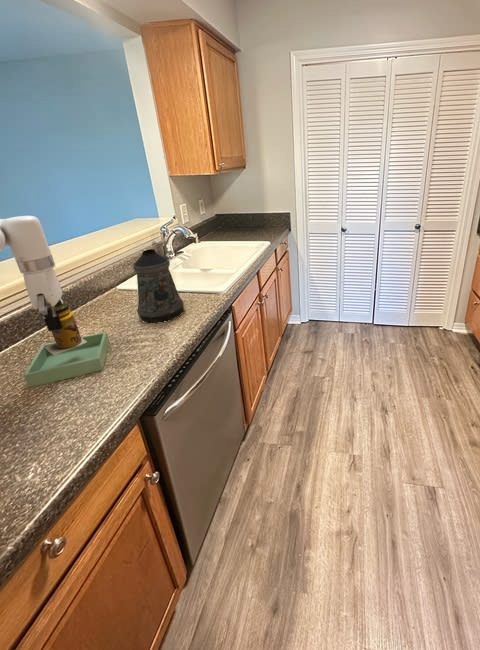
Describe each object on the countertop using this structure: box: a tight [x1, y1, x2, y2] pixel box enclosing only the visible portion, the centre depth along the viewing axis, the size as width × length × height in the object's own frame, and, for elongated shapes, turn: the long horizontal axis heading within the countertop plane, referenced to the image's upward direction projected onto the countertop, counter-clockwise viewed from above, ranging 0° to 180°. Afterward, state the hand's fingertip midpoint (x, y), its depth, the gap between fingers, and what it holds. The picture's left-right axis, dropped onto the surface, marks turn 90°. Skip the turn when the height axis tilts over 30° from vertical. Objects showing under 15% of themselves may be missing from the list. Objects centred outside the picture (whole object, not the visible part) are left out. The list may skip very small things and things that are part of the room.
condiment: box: [45, 303, 87, 356], centre depth 92 cm, size 7×8×12 cm
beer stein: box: [132, 248, 185, 324], centre depth 121 cm, size 16×19×25 cm
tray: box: [23, 331, 110, 388], centre depth 96 cm, size 18×17×4 cm
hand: (58, 323), depth 92 cm, fingers closed on condiment, 6 cm apart
